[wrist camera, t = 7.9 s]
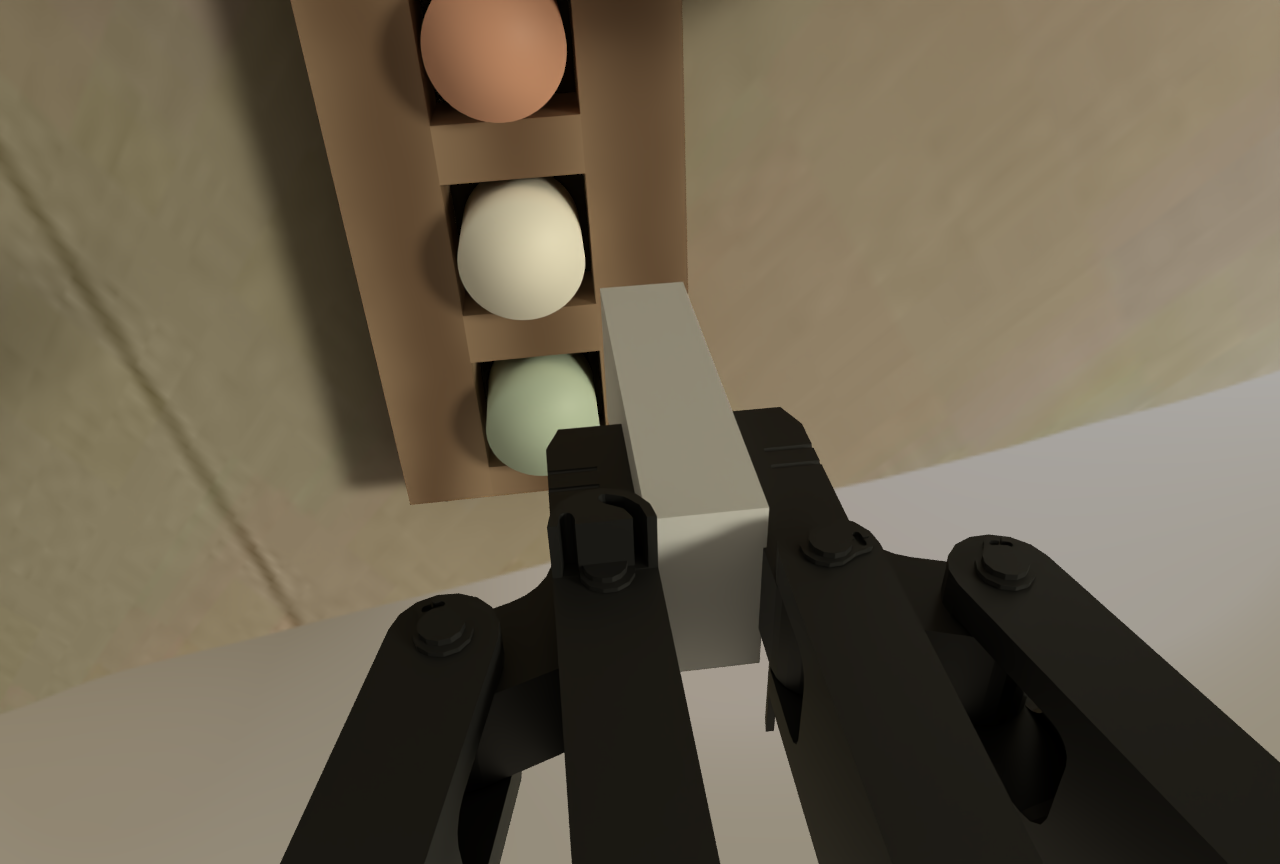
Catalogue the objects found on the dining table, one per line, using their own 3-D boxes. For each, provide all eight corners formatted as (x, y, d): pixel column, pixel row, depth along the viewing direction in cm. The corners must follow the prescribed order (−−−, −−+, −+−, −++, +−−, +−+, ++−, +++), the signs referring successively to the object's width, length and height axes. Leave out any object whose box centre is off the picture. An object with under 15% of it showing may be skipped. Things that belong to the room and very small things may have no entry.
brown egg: (441, 99, 32) (434, 128, 29) (419, -42, 30) (408, -26, 27) (567, 89, 33) (572, 117, 30) (555, -51, 30) (559, -36, 27)
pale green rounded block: (495, 431, 40) (494, 481, 37) (481, 342, 38) (478, 387, 35) (597, 421, 40) (603, 470, 37) (589, 331, 38) (595, 376, 35)
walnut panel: (416, 463, 41) (410, 504, 39) (289, -100, 29) (268, -93, 27) (681, 436, 42) (691, 475, 40) (665, -124, 30) (679, -118, 27)
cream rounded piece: (472, 283, 36) (467, 325, 33) (453, 172, 34) (447, 207, 31) (584, 273, 36) (590, 314, 33) (574, 162, 34) (579, 196, 31)
